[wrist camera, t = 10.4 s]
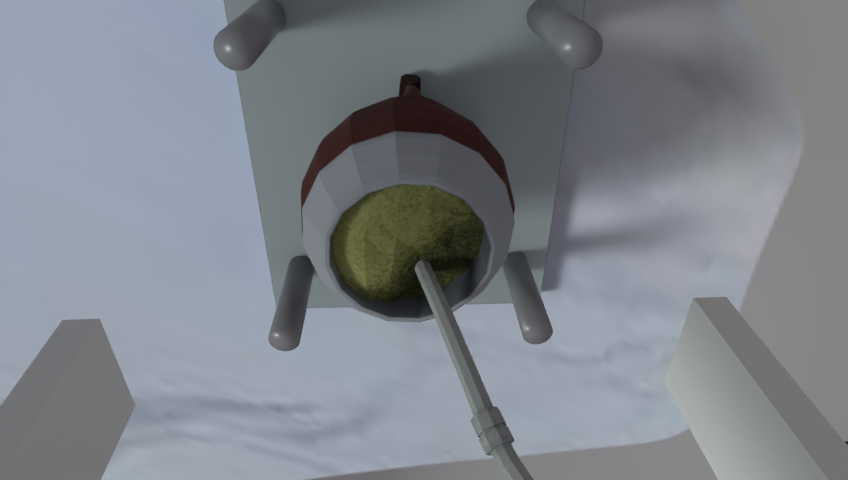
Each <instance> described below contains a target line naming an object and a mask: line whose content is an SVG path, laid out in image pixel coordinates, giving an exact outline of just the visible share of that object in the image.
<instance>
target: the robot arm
mask: <svg viewBox="0 0 848 480" xmlns="http://www.w3.org/2000/svg"><path fill="white" fill-rule="evenodd" d="M664 384H665V385H666V387H667V389H668V391H669V392H670V394H671V396H672V398H673V400H674V401H675V403H676V405H677V407H678V409H679V410H680V412H681V414H682V416H683V417H684V419H685V421H686V423H687V425H688V426H689V428H690V430H691V432H692V434H693V435H694V437H695V439H696V441H697V443H698V444H699V446H700V448H701V450H702V451H703V453H704V455H705V457H706V458H707V460H708V462H709V464H710V466H711V468H712V469H713V471H714V473H715V475H716V476H717V478H718V480H848V442H847V441H846V442H845V441H844V440H843V439H842V438H841V437H840V435H839V434H838V433H837V432H836V430H835V429H834V428H833V427H832V426H831V424H830V423H829V422H828V421H827V420H826V418H825V417H824V416H823V415H822V413H821V412H820V411H819V410H818V409H817V407H816V406H815V405H814V404H813V403H812V401H811V400H810V399H809V398H808V397H807V395H806V394H805V393H804V392H803V390H802V389H801V388H800V387H799V385H798V384H797V383H796V382H795V380H794V379H793V378H792V377H791V376H790V374H789V373H788V372H787V371H786V370H785V368H784V367H783V366H782V365H781V363H780V362H779V361H778V360H777V359H776V357H775V356H774V355H773V354H772V352H771V351H770V350H769V349H768V348H767V346H766V345H765V344H764V343H763V342H762V340H761V339H760V338H759V337H758V336H757V334H756V333H755V332H754V331H753V329H752V328H751V327H750V326H749V324H748V323H747V322H746V321H745V320H744V318H743V317H742V316H741V315H740V313H739V312H738V311H737V310H736V309H735V307H734V306H733V305H732V304H731V303H730V301H729V300H728V299H727V298H726V297H710V298H693V301H692V304H691V307H690V309H689V312H688V315H687V318H686V321H685V324H684V326H683V329H682V332H681V335H680V338H679V341H678V343H677V346H676V349H675V352H674V355H673V357H672V360H671V363H670V366H669V369H668V372H667V374H666V377H665V380H664ZM134 407H135V404H134V401H133V399H132V397H131V394H130V392H129V389H128V387H127V384H126V382H125V380H124V377H123V375H122V372H121V370H120V367H119V365H118V362H117V360H116V358H115V355H114V353H113V350H112V348H111V345H110V343H109V341H108V338H107V336H106V333H105V331H104V328H103V326H102V324H101V321H100V319H81V320H62V322H61V323H60V324H59V326H58V327H57V328H56V330H55V331H54V333H53V334H52V335H51V337H50V338H49V340H48V341H47V342H46V344H45V345H44V347H43V348H42V349H41V351H40V352H39V354H38V355H37V356H36V358H35V359H34V360H33V362H32V363H31V365H30V366H29V367H28V369H27V370H26V372H25V373H24V374H23V376H22V377H21V379H20V380H19V381H18V383H17V384H16V386H15V387H14V388H13V390H12V391H11V393H10V394H9V395H8V397H7V398H6V399H5V401H4V402H3V404H2V405H1V406H0V480H101V478H102V476H103V474H104V471H105V469H106V467H107V465H108V463H109V461H110V458H111V456H112V454H113V452H114V450H115V448H116V446H117V443H118V441H119V439H120V437H121V435H122V433H123V431H124V428H125V426H126V424H127V422H128V420H129V418H130V415H131V413H132V411H133V409H134Z"/></svg>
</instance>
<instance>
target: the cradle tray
mask: <svg viewBox="0 0 848 480" xmlns="http://www.w3.org/2000/svg"><path fill="white" fill-rule="evenodd" d="M584 4H585V0H224V5H225V11H226V16H227V22H228V25H227V26H226V27H225V28H224V29H222V30H221V31H220V32H219V33H218V34H217V35H216V37H215V40H214V51H215V54H216V56H217V58H218V60H219V61H220V62H221V63H222V64H223V65H224V66H225V67H227V68H229V69H231V70H235V71H236V75H237V81H238V87H239V92H240V98H241V104H242V110H243V116H244V122H245V127H246V133H247V139H248V145H249V151H250V157H251V162H252V168H253V174H254V180H255V186H256V192H257V198H258V203H259V209H260V215H261V221H262V227H263V233H264V238H265V244H266V250H267V256H268V262H269V268H270V274H271V279H272V285H273V291H274V297H275V303H276V312H275V316H274V319H273V323H272V327H271V330H270V334H269V342H270V344H271V345H272V346H273V347H274V348H276V349H278V350H281V351H290V350H293V349H295V348H296V347H297V346H298V345H299V343H300V338H301V333H302V328H303V323H304V319H305V314H306V309H307V308H334V307H351V306H350V305H349V304H347V303H346V302H345V301H344V300H343V299H341V298H340V297H339V296H338V295H337V294H336V293H334V292H333V291H332V290H331V289H330V288H328V287H327V286H326V285H325V284H324V283H323V282H322V280H321V279H320V278H319V276H318V274H317V272H316V270H315V268H314V266H313V264H312V262H311V260H310V258H309V256H308V254H307V252H306V250H305V248H304V246H303V234H302V220H301V187H302V181H303V179H304V177H305V175H306V172H307V170H308V168H309V166H310V164H311V161H312V159H313V157H314V155H315V153H316V150H317V148H318V146H319V144H320V143H321V141H322V140H323V138H324V137H325V136H326V135H328V134H329V133H330V132H331V131H332V130H333V129H335V128H336V127H337V126H338V125H339V124H340V123H342V122H343V121H344V120H345V119H346V118H347V117H348V116H350V115H351V114H352V113H353V112H355V111H357V110H359V109H362V108H364V107H367V106H370V105H372V104H375V103H378V102H380V101H383V100H386V99H388V98H391V97H397V96H399V86H400V79H401V76H402V75H404V74H410V75H417V76H419V77H420V79H421V91H420V93H421V95H422V96H424V97H427V98H430V99H432V100H435V101H438V102H439V103H441V104H443V105H445V106H446V107H448V108H450V109H451V110H453V111H455V112H456V113H458V114H460V115H462V116H464V117H465V118H467V119H469V120H471V121H473V122H474V123H475V125H476V126H477V127H478V128H479V129H480V131H481V132H482V133H483V134H484V135H485V137H486V138H487V139H488V140H489V141H490V142H491V144H492V145H493V146H494V147H495V148H496V150H497V151H498V152H499V154H500V155H501V156H502V158H503V159H504V163H505V167H506V171H507V175H508V179H509V183H510V187H511V191H512V195H513V199H514V204H515V210H514V219H515V224H514V228H513V233H512V238H511V243H510V247H509V252H508V257H507V259H506V260H505V262H504V263H503V265H502V266H501V267H500V269H499V270H498V272H497V273H496V274H495V276H494V277H493V279H492V280H491V281H490V283H489V284H488V286H487V287H486V288H485V289H484V290H483V292H482V293H480V294H479V295H478V296H477V297H475V298H474V299H472V300H471V301H469V302H467V303H466V304H500V303H513V304H514V308H515V311H516V315H517V318H518V321H519V325H520V328H521V332H522V335H523V338H524V340H525V341H526V342H528V343H531V344H540V343H543V342H545V341H547V340H548V339H549V338H550V337H551V336H552V333H553V329H552V326H551V324H550V321H549V318H548V315H547V313H546V310H545V307H544V304H543V302H542V299H541V296H540V295H541V288H542V282H543V275H544V268H545V262H546V255H547V249H548V242H549V235H550V229H551V222H552V216H553V209H554V202H555V196H556V189H557V183H558V176H559V169H560V163H561V156H562V150H563V143H564V136H565V130H566V123H567V117H568V110H569V103H570V97H571V90H572V84H573V77H574V70H575V69H584V68H587V67H589V66H590V65H592V64H593V63H594V62H595V61H596V60H597V59H598V57H599V56H600V54H601V51H602V39H601V36H600V35H599V33H598V32H597V31H596V30H594V29H593V28H592V27H590V26H589V25H587V24H586V23H584V22H583V21H582V18H583V11H584Z"/></svg>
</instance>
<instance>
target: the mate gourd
mask: <svg viewBox="0 0 848 480" xmlns="http://www.w3.org/2000/svg"><path fill="white" fill-rule="evenodd" d="M420 91H421V79H420V77H419V76H417V75H410V74H404V75H402V76H401V79H400V86H399V96H397V97H391V98H388V99H386V100H383V101H380V102H378V103H375V104H372V105H370V106H367V107H364V108H362V109H359V110H357V111H355V112H353V113H352V114H351V115H350V116H348V117H347V118H346V119H345V120H344V121H343V122H342V123H340V124H339V125H338V126H337V127H336V128H335V129H333V130H332V131H331V132H330V133H329V134H328V135H326V136H325V137H324V138H323V140H322V141H321V143H320V144H319V146H318V148H317V150H316V153H315V155H314V157H313V159H312V161H311V164H310V166H309V168H308V170H307V172H306V175H305V177H304V179H303V181H302V187H301V220H302V234H303V246H304V248H305V250H306V252H307V254H308V256H309V258H310V260H311V262H312V264H313V266H314V268H315V270H316V272H317V274H318V276H319V278H320V279H321V280H322V282H323V283H324V284H325V285H326V286H327V287H328V288H330V289H331V290H332V291H333V292H334V293H336V294H337V295H338V296H339V297H340V298H341V299H343V300H344V301H345V302H346V303H347V304H349V305H350V306H351V307H352V308H354V309H356V310H358V311H361V312H364V313H366V314H369V315H372V316H375V317H377V318H380V319H383V320H386V321H401V322H422V321H426V320H429V319H433V318H435V319H436V321H437V324H438V326H439V329H440V331H441V334H442V336H443V339H444V341H445V344H446V346H447V349H448V351H449V354H450V356H451V359H452V361H453V364H454V366H455V369H456V371H457V374H458V376H459V379H460V381H461V384H462V387H463V389H464V392H465V394H466V397H467V399H468V402H469V404H470V407H471V410H472V412H473V415H474V417H473V418H472V419H471V422H472V424H473V427H474V429H475V431H476V434H477V436H478V437H479V438H480V439H479V441H480V443H481V445H482V447H483V449H484V451H485V453H486V455H492V456H493V458H494V460H495V462H496V463H497V465H498V467H499V469H500V471H501V472H502V474H503V475H504V476H505V478H506V479H507V480H533V478H532V477H531V475H530V474H529V472H528V471H527V470H526V468H525V467H524V465H523V464H522V462H521V461H520V459H519V458H518V456H517V454H516V452H515V450H514V449H513V447H512V445H511V443H512V442H513V441H514V438H513V436H512V434H511V432H510V430H509V428H508V427H507V426H506V423H505V420H504V418H503V416H502V414H501V412H500V410H499V409H498V408H497V407H493V405H492V403H491V401H490V398H489V396H488V394H487V391H486V389H485V387H484V384H483V382H482V380H481V377H480V375H479V373H478V370H477V368H476V366H475V363H474V361H473V359H472V356H471V354H470V352H469V350H468V347H467V345H466V343H465V340H464V338H463V336H462V333H461V331H460V329H459V326H458V324H457V322H456V319H455V317H454V315H453V313H452V312H454V311H455V310H457V309H458V308H460V307H461V306H463V305H464V304H466V303H467V302H469V301H471V300H472V299H474V298H475V297H477V296H478V295H479V294H480V293H482V292H483V290H484V289H485V288H486V287H487V286H488V284H489V283H490V281H491V280H492V279H493V277H494V276H495V274H496V273H497V272H498V270H499V269H500V267H501V266H502V265H503V263H504V262H505V260H506V259H507V257H508V252H509V247H510V243H511V238H512V233H513V228H514V224H515V219H514V210H515V204H514V199H513V195H512V191H511V187H510V183H509V179H508V175H507V171H506V167H505V163H504V159H503V158H502V156H501V155H500V154H499V152H498V151H497V150H496V148H495V147H494V146H493V145H492V144H491V142H490V141H489V140H488V139H487V138H486V137H485V135H484V134H483V133H482V132H481V131H480V129H479V128H478V127H477V126H476V125H475V123H474V122H473V121H471V120H469V119H467V118H465V117H464V116H462V115H460V114H458V113H456V112H455V111H453V110H451V109H450V108H448V107H446V106H445V105H443V104H441V103H439V102H438V101H435V100H432V99H430V98H427V97H424V96H422V95H421V93H420Z"/></svg>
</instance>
